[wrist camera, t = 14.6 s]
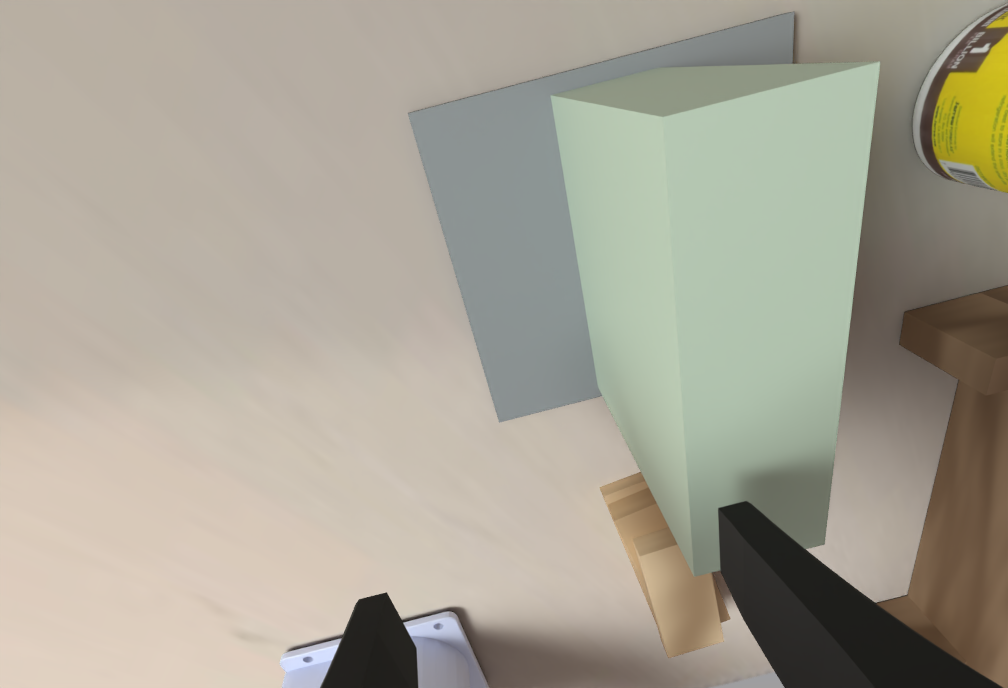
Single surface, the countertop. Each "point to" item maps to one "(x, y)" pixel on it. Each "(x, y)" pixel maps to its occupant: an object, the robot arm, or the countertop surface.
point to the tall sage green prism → (722, 278)
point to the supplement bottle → (968, 107)
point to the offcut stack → (665, 570)
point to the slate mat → (539, 214)
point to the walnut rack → (965, 487)
